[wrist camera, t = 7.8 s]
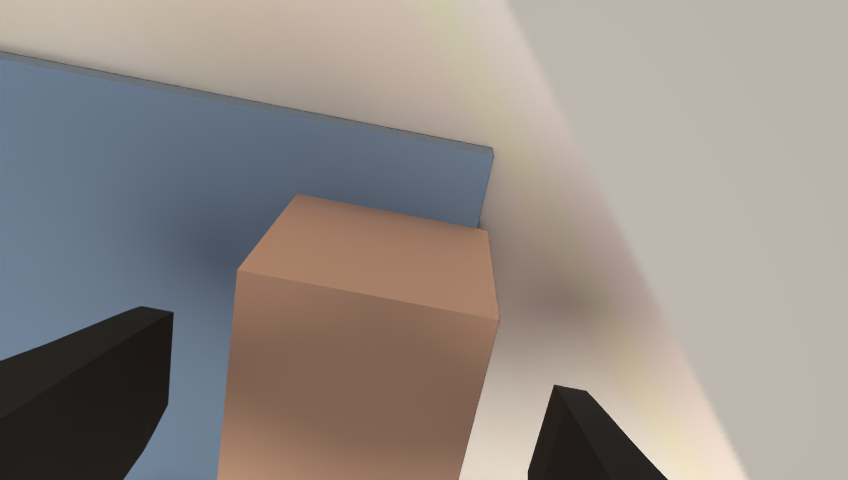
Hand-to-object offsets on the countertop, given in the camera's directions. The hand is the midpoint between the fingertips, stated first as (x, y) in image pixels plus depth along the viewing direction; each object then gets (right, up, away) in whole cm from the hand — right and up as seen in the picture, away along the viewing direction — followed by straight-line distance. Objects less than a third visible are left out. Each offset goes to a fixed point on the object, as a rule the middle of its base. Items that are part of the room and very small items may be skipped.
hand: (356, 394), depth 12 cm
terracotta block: (0, +1, +4) cm, 4 cm away
